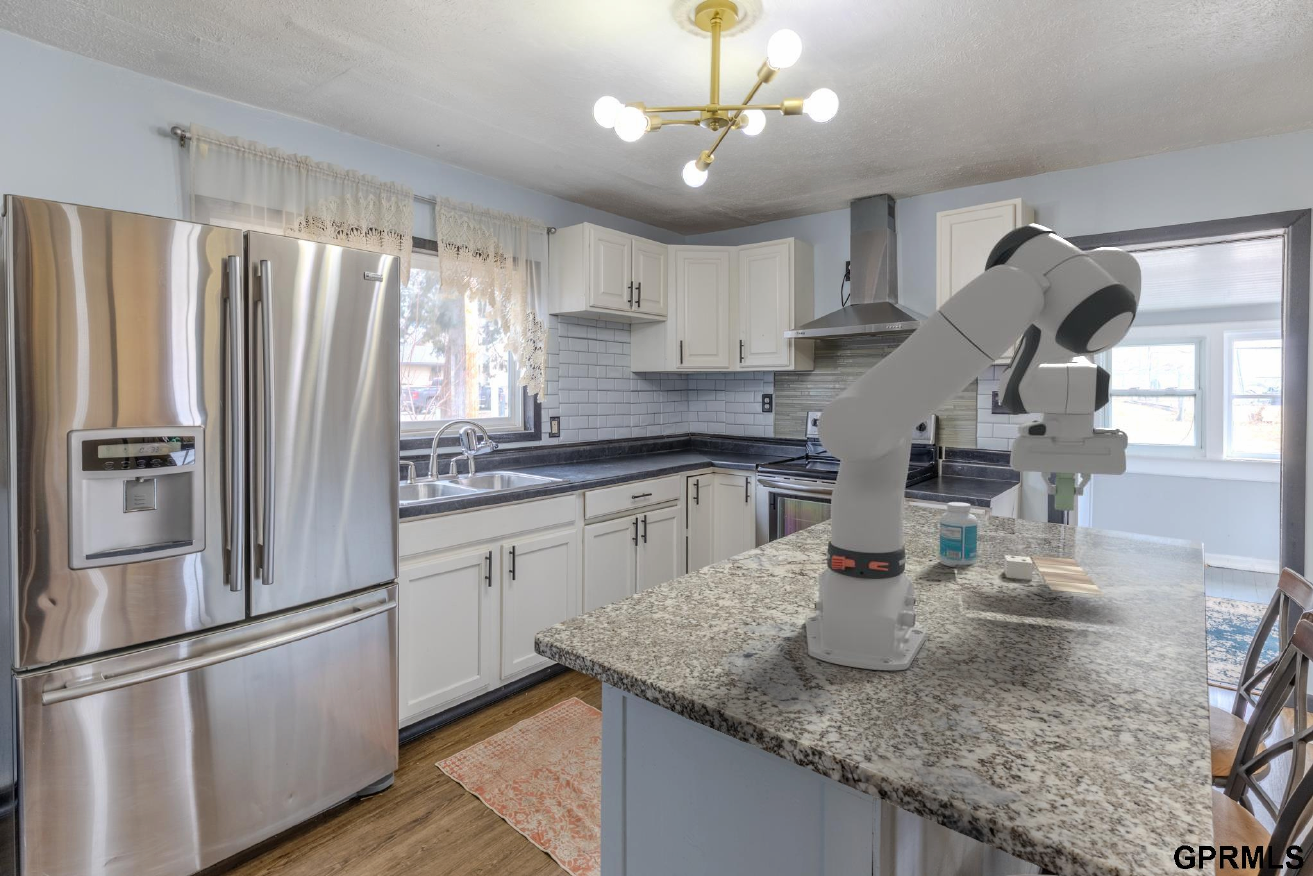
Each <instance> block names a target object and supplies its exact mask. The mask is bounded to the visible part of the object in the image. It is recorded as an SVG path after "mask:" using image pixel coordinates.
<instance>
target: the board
mask: <svg viewBox="0 0 1313 876" xmlns="http://www.w3.org/2000/svg"><path fill="white" fill-rule="evenodd" d="M1028 557H1030V559H1031V560H1032V562H1034V563H1033V564H1035V566H1036V568H1037V569H1038V571H1039V573H1040V574H1041V576H1042V577H1043V579H1044V581H1045V583H1046V584H1047V586H1048V587H1049V589H1050V590H1051V591H1061V592H1070V593H1079V594H1091V595H1101V596H1104V593H1103V592H1102V591H1101V590H1100V588H1099V587H1098V586H1097V585H1096V584H1095V582H1094V581H1093V579H1091V578H1090V577H1089V575H1088V574H1087V572H1085V570H1084V569H1083V568H1082V567H1081V565H1079V563H1078V561H1077V560H1076V559H1073V558H1061V557H1053V556H1052V557H1051V556H1041V555H1040V556H1038V555H1037V556H1036V555H1029V556H1028Z"/></svg>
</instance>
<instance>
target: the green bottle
mask: <svg viewBox="0 0 1313 876" xmlns="http://www.w3.org/2000/svg"><path fill="white" fill-rule="evenodd" d="M1075 474H1076V473H1056V477H1055V484H1054V485H1055V486H1056V490H1055V491H1056V494H1054V510H1058V511H1064V512H1065V511H1067V512H1068V511H1069V512H1071V511H1072V512H1073V511H1074V508H1075V507H1074V506H1075V495H1074V491H1075V486H1076V478H1075Z"/></svg>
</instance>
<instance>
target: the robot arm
mask: <svg viewBox="0 0 1313 876" xmlns="http://www.w3.org/2000/svg"><path fill="white" fill-rule="evenodd" d="M1141 293H1142V270H1141V266H1140V264H1139V262H1138V261H1137V259H1136V258H1135V257H1134V256H1133V255H1132V254H1130V252H1128V251H1126V250H1124V249H1120V248H1117V247H1099V248H1095V249H1092V250H1089V251H1087V252H1085V251H1083V250H1082V249H1080V248H1079V247H1077V246H1075V245H1074V244H1072V243H1070V242H1069V241H1067V240H1065V239H1064V238H1062V237H1060V236H1058V234H1057V232H1056V231H1054V230H1052V229H1050V228H1047V227H1045V226H1042V225H1041V224H1040V225H1039V224H1036V223H1030V224H1026V225H1022V226H1019V227H1017V228H1015V229H1013V230H1011V231H1009V232H1007V233H1006V234H1005V235H1003V236H1002V238H1001V239H999V240H998V242H997V243H996V244H995V245H994V246H993V248H992V249H991V251H990V253H989V255H988V257H987V260H986V263H985V265H984V272H982V273H980V274H979V275H978V276H977V277H975V278H974V279H972V280H971V281H969V282H968V283H967V284H966V285H964V286H963V287H962V288H960V289H959V290H958V291H957V292H955V293H954V294H953V295H951V297H950V298H948V300H946V301H945V302H944V303H943V304H942V305H941V306H940V307H938V309H937V310H935V311H934V312H933V314H931V316H930V317H928V318H927V319H926V320H925V321H924V322H923V323H922V324H921V325H920V326H919V327H918V328H917V329H915V331H914V332H912V334H910V335H909V337H908V338H907V339H905V340H904V341H903V342H902V343H901V344H900V345H899V346H897V348H895V350H893V351H892V352H891V353H890V354H888V355H886V357H885V358H883V359H882V360H880V361H879V362H877V363H876V364H875V365H873V366H872V368H870V369H868V371H866V372H865V373H864V374H863V375H861V376H860V377H859V378H858V379H857V380H855V381H854V382H853V383H852V384H851V385H849V386H848V387H847V388H846V389H845V390H844V391H842V393H839V395H838V396H836V397H835V398H834V399H832V400H831V401H830V402H829V403H828V404H827V405H826V406H825V407H824V408H823V410H822V411H821V412H820V414H819V417H818V421H817V427H816V428H817V430H816V431H817V436H818V439H819V443H820V444H821V446H822V448H823V449H824V450H825V451H826V453H828V454H829V455H830V456H832V457H834V458H835V459H838V460H840V462H839V466H838V472H837V477H836V480H835V485H834V487H833V489H832V493H831V497H830V498H831V502H830V503H831V505H830V507H831V509H830V540H829V541H828V544H827V549H826V565H827V567H826V568H825V570H823V571H821V572H820V573H819V575H818V576H819V577H818V578H819V579H818V580H819V581H818V583H819V584H818V601H815V603H814V609H815V611H818V613H810V614H807V615H806V616H805V621H804V622H805V631H806V632H805V633H806V643H807V652H808V655H809V656H810V657H812V658H815V659H818V660H820V661H824V662H827V663H831V664H834V665H835V664H836V665H840V666H846V667H852V668H858V669H859V668H860V669H866V670H874V671H875V670H877V671H902V670H903V671H905V670H907V669H909V668H910V666H911V664H912V663H913V661H914V660H915V658H916V656H917V655H918V653H919V651H920V650H921V647H922V646H923V645H924V642H925V641H926V639H928V638H927V637H928V635H927V630H926V629H925V628H923V627H921V626H918V625H916V618H917V617H916V616H917V615H916V612H915V606H916V601H917V599H916V596H915V583H914V582H913V581H912V580H911V579H910V578H909V577H908V576H907V575H906V574H905V571H906V561H907V556H906V548H905V545H903V537H904V535H903V534H904V533H903V532H904V507H905V505H904V503H905V493H906V486H907V485H906V484H907V480H908V479H907V478H908V473H909V468H910V459H911V450H912V441H913V432H914V429H916V428H917V427H918V426H920V425H921V424H922V423H923V422H925V420H927V419H928V418H930V417H931V416H932V415H934V413H936V412H937V411H939V410H940V409H941V408H942V407H944V406H945V405H946V404H948V403H949V402H950V401H952V400H953V399H954V398H955V397H957V396H958V395H959V394H960V393H962V391H963V390H965V389H966V388H967V387H968V386H969V385H970V384H971V383H973V381H975V380H976V379H978V377H979V376H980V375H982V374H983V373H984V372H985V371H986V370H987V369H988V368H989V367H991V366H992V365H993V364H994V363H996V361H998V359H1000V358H1001V357H1002V356H1003V355H1004V354H1005V353H1006V352H1008V350H1009V349H1011V348H1012V347H1013V345H1014V344H1015V343H1016V342H1017V341H1018V340H1019V339H1020V340H1019V343H1018V344H1017V347H1016V349H1015V351H1014V354H1013V355H1012V357H1011V360H1010V362H1009V364H1008V365H1007V367H1006V368H1005V369H1004V370H1003V372H1002V374H1001V376H1000V379H999V382H998V386H997V396H998V401H999V404H1000V405H1001V407H1003V408H1004V409H1005V410H1006V411H1008V412H1009V413H1010V414H1012V415H1014V416H1015V415H1029V414H1043V415H1042V418H1040V419H1037V420H1036V419H1035V420H1033V421H1029V422H1025V423H1022V424H1019V425H1018V427H1017V432H1018V434H1019V435H1018V436H1017V437H1015V439H1014V440H1013V443H1012V446H1011V451H1010V457H1009V458H1010V459H1009V467H1010V468H1011V469H1012V470H1013V471H1014V472H1027V473H1028V472H1036V473H1041V474H1040V477H1041V479H1042V480H1043V481H1044V483H1045V485H1046V494H1047V495H1055V494H1056V491H1055V490H1056V486H1055V484H1052V483H1051V482H1050V479H1049V478H1051V475H1052V473H1075V474H1079V476H1080V478H1081V479H1082V480H1081V481H1080V482H1079V484H1078V485H1075V491H1074V496H1080V497H1081V496H1084V491H1085V489H1084V488H1086V486H1087V484H1089V482H1090V481H1091V478H1092V477H1091V476H1092V475H1108V476H1110V475H1111V476H1121V475H1122V476H1123V474H1124V473H1125V472H1126V471H1127V458H1126V449H1127V448H1128V445H1129V444H1128V443H1129V437H1128V434H1127V433H1126V432H1125V431H1123V430H1120V429H1119V428H1116V427H1115V428H1114V427H1113V428H1104V427H1094V424H1095V423H1094V422H1095V421H1094V420H1095V413H1097V412H1098V411H1099V410H1100V409H1102V408H1103V407H1104V406H1106V405H1107V404H1108V403H1109V402H1110V397H1109V394H1110V393H1109V392H1110V391H1109V390H1110V380H1111V379H1110V378H1111V374H1110V373H1109V372H1108V371H1107V370H1106V369H1104V368H1103V367H1102V366H1101V365H1099V364H1095V355H1098V354H1102V353H1104V352H1106V351H1109V350H1111V349H1112V348H1113V347H1115V346H1117V345H1118V344H1119V343H1120V342H1121V341H1122V340H1123V339H1125V337H1126V336H1127V334H1128V333H1129V331H1130V329H1131V327H1132V325H1133V323H1134V321H1135V318H1136V314H1137V312H1138V309H1139V303H1140V300H1141V295H1142V294H1141Z"/></svg>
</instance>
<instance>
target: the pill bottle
mask: <svg viewBox="0 0 1313 876" xmlns="http://www.w3.org/2000/svg"><path fill="white" fill-rule="evenodd" d="M946 509H947V512H944V513H943V514H942V515H940V518H939V519H940V520H939V562H940V563H941V564H942V565H944V566H946V567H951V568H957V565H960V566H968V565H975V564H977V555H978V554H977V553H978V545H977V544H978V518H977V516H975V515H974V514H972V513H970V512H971V510H972V506H971V503H967V502H962V501H961V502H960V501H959V502H957V501H952V502H951V501H950V502H947V503H946Z"/></svg>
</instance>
